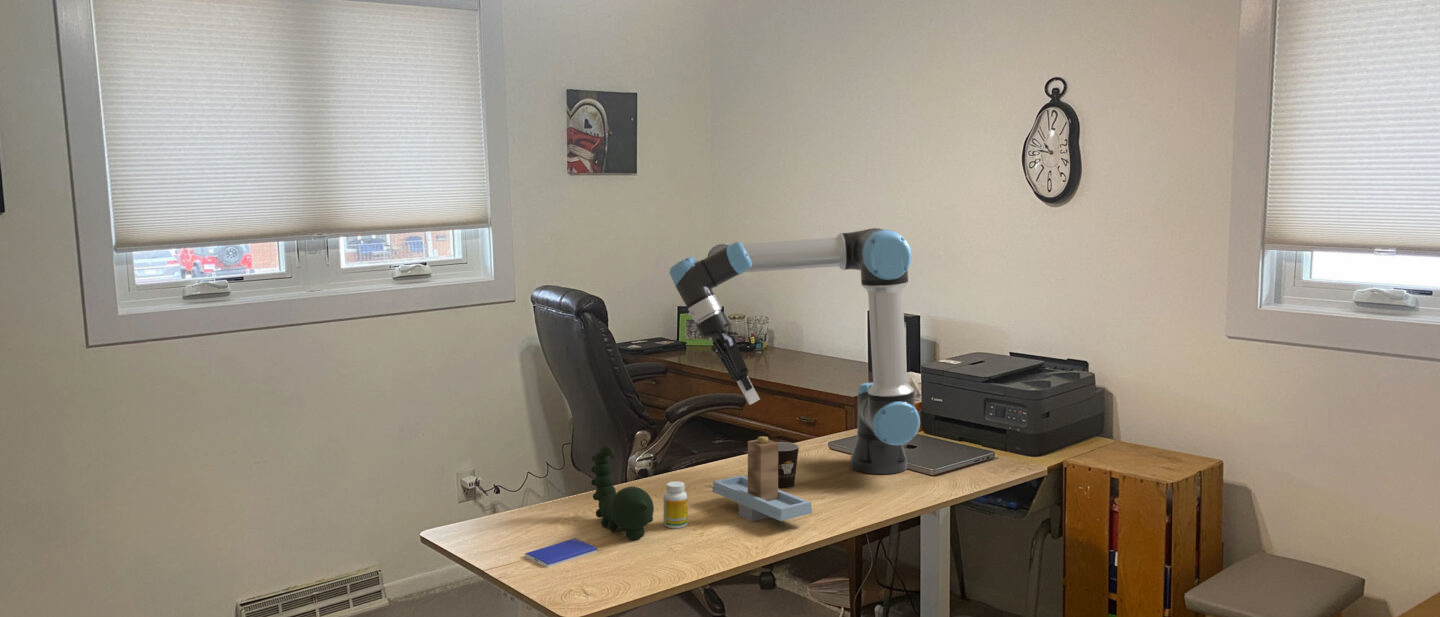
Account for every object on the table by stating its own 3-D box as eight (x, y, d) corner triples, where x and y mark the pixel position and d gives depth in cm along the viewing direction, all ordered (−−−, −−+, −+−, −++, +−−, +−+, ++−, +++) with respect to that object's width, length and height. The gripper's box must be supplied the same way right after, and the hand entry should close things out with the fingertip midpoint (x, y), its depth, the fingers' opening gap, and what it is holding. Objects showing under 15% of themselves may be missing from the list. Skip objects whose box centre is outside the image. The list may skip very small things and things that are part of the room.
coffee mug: (799, 480, 267) (799, 442, 265) (798, 490, 258) (798, 451, 257) (754, 479, 268) (754, 441, 267) (751, 489, 259) (751, 450, 258)
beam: (712, 503, 248) (712, 481, 247) (742, 497, 253) (742, 474, 252) (780, 534, 227) (780, 509, 226) (811, 526, 232) (812, 502, 231)
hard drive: (574, 537, 222) (525, 552, 214) (597, 547, 216) (547, 562, 208) (574, 544, 222) (525, 559, 214) (597, 554, 216) (547, 570, 208)
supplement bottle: (660, 523, 234) (659, 482, 233) (681, 519, 236) (681, 479, 235) (669, 530, 229) (669, 488, 228) (691, 526, 232) (691, 485, 230)
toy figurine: (583, 526, 237) (628, 550, 216) (578, 444, 236) (624, 460, 215) (620, 519, 242) (669, 542, 220) (616, 439, 241) (664, 454, 219)
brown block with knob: (747, 496, 239) (747, 437, 237) (764, 492, 242) (764, 434, 240) (760, 501, 235) (761, 441, 233) (778, 497, 238) (778, 438, 236)
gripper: (690, 328, 259) (735, 412, 258) (702, 319, 247) (748, 406, 245) (716, 315, 261) (760, 398, 260) (728, 305, 249) (775, 392, 247)
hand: (754, 402), depth 252 cm, fingers closed
